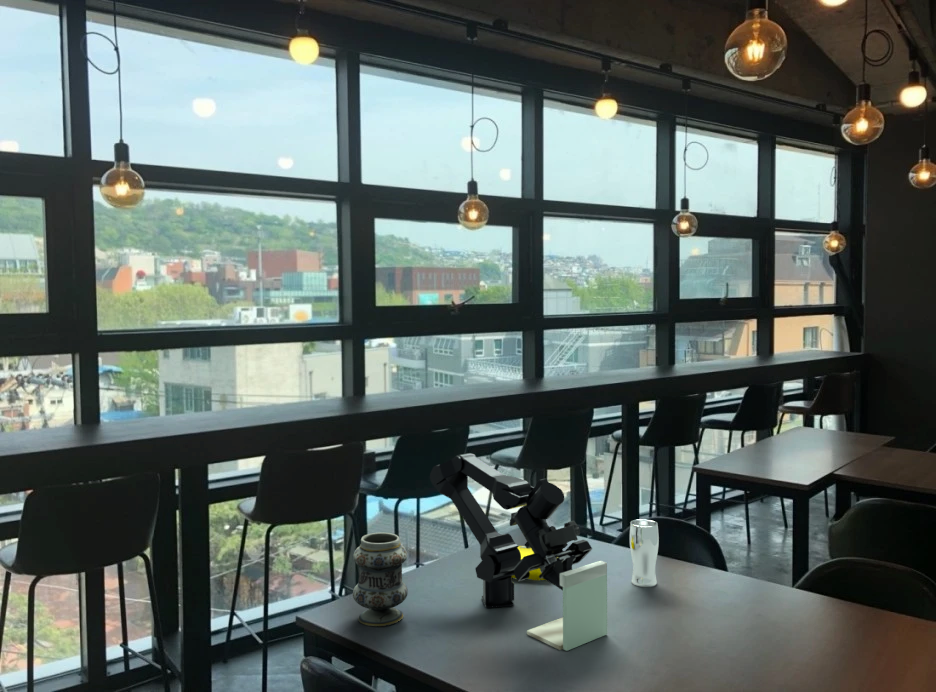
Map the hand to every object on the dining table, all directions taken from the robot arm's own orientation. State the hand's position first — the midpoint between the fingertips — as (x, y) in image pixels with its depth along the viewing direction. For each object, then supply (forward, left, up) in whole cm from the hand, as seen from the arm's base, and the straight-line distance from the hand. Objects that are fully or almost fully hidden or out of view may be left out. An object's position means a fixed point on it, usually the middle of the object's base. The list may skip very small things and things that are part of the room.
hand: (574, 595), depth 153 cm
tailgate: (+2, -3, -9) cm, 9 cm away
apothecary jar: (-39, +17, -9) cm, 44 cm away
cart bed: (-1, +2, -9) cm, 9 cm away
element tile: (0, +42, -9) cm, 43 cm away
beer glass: (+26, +27, -9) cm, 39 cm away
